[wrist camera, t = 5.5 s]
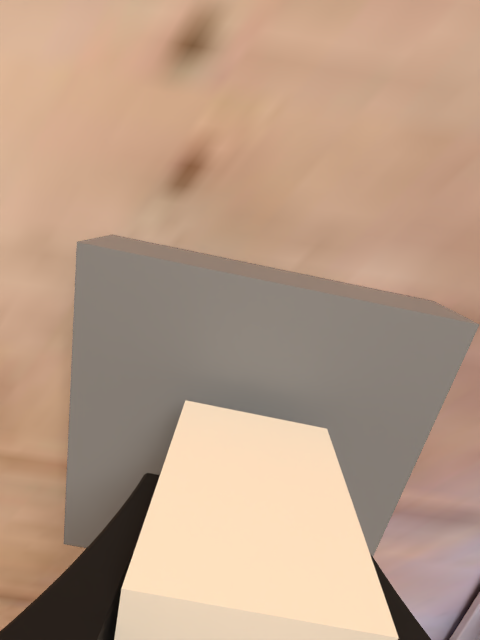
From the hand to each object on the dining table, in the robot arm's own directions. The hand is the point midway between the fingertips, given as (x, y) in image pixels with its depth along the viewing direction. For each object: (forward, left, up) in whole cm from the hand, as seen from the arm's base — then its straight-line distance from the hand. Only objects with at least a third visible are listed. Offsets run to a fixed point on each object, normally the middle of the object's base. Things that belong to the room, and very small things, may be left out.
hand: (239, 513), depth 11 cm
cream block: (0, 0, -2) cm, 2 cm away
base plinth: (0, 0, -6) cm, 6 cm away
